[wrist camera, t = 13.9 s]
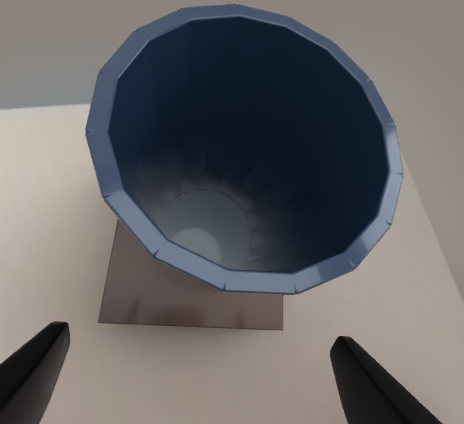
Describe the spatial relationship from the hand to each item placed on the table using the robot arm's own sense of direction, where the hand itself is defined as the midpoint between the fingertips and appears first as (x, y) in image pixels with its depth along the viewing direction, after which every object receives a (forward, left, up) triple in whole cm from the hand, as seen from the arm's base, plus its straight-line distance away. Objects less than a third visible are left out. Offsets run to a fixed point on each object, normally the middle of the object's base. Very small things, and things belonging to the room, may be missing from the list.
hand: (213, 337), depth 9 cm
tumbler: (+4, +3, -8) cm, 9 cm away
